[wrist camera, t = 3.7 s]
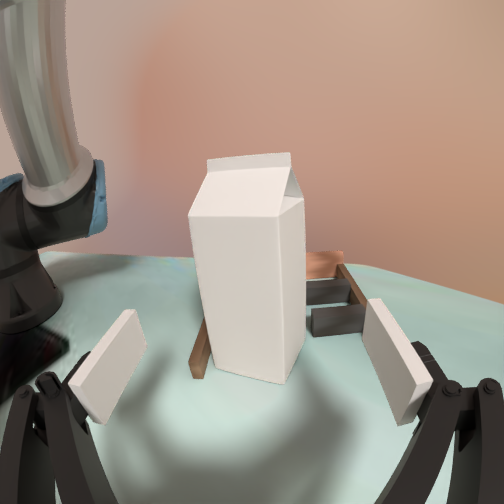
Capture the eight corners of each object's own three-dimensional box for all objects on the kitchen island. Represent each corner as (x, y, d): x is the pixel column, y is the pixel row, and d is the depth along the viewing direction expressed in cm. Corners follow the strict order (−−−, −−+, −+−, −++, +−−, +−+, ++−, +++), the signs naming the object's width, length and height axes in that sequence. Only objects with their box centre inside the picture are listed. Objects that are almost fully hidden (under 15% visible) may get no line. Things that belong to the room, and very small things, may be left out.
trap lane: (193, 378, 24) (183, 346, 23) (224, 281, 45) (221, 257, 43) (390, 364, 22) (399, 331, 21) (341, 273, 43) (341, 250, 42)
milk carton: (284, 386, 22) (273, 152, 16) (214, 369, 25) (180, 162, 19) (305, 340, 28) (301, 152, 22) (245, 330, 31) (227, 157, 25)
